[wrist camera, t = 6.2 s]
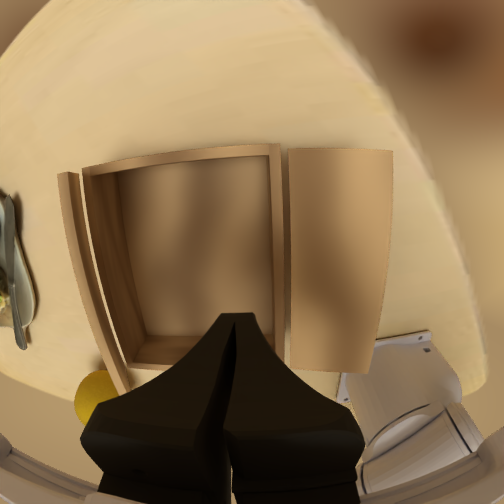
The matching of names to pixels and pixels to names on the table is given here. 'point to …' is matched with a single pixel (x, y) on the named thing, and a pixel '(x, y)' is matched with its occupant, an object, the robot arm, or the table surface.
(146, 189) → the carton
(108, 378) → the lemon
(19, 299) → the avocado toast plate
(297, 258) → the panel
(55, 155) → the table surface
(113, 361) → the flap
